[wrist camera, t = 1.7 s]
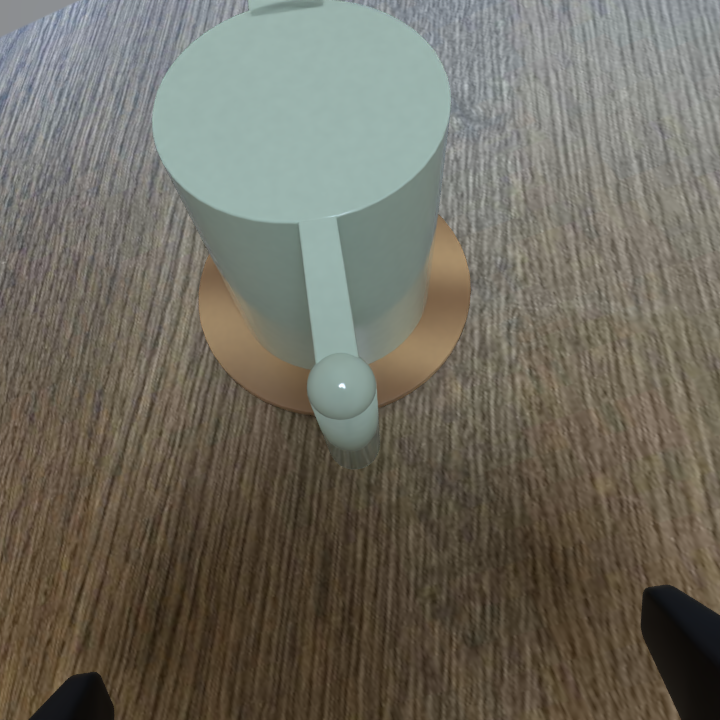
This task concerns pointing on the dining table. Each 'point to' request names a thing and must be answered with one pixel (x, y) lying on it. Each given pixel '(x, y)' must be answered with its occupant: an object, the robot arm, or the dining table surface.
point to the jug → (314, 187)
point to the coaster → (391, 372)
